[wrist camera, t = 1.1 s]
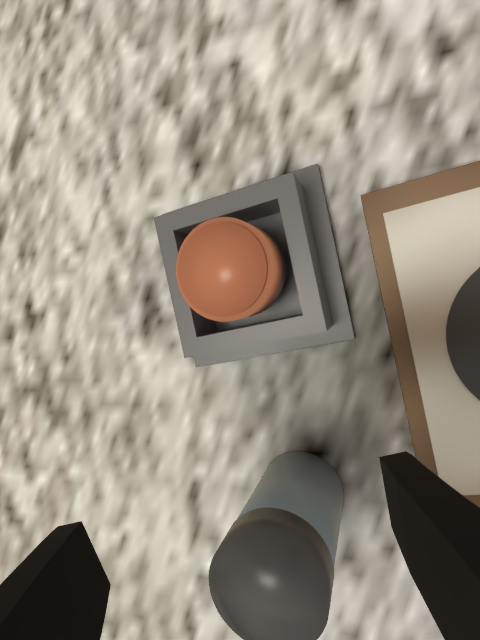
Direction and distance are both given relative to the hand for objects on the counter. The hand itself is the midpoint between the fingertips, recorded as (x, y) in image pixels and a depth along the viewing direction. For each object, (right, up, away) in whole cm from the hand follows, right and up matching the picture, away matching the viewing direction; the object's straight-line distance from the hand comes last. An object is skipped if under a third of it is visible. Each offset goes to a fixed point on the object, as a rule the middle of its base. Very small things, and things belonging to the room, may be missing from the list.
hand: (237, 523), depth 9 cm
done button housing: (+1, +7, +10) cm, 13 cm away
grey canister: (+3, -4, +10) cm, 11 cm away
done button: (0, +7, +8) cm, 11 cm away
